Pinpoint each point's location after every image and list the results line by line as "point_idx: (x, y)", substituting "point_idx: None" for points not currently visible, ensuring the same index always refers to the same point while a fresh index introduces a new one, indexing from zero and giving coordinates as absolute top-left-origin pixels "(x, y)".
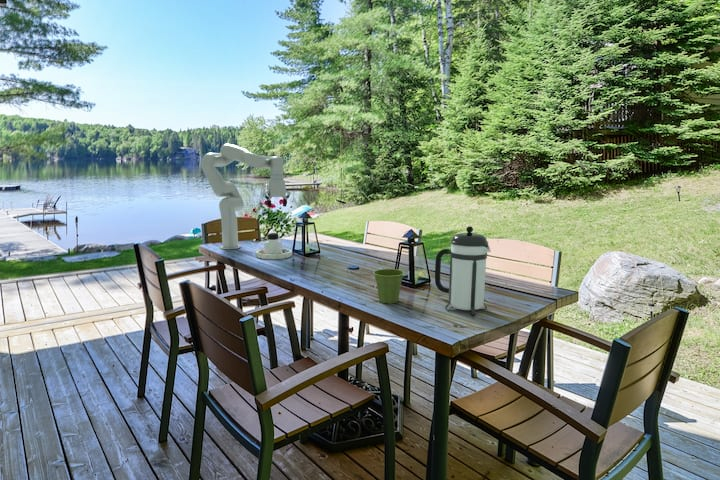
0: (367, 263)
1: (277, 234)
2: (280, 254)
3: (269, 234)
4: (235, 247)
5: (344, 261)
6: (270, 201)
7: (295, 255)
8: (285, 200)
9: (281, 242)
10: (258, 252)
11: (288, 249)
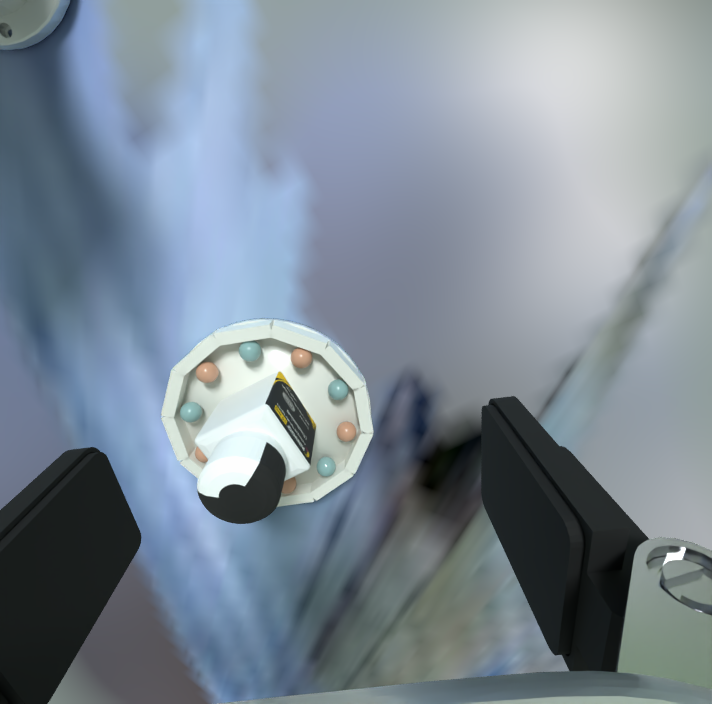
0: (564, 662)
1: (269, 513)
2: (283, 505)
3: (207, 509)
4: (24, 42)
5: (513, 615)
6: (39, 689)
7: (383, 444)
8: (565, 652)
9: (307, 469)
10: (182, 391)
11: (365, 405)
